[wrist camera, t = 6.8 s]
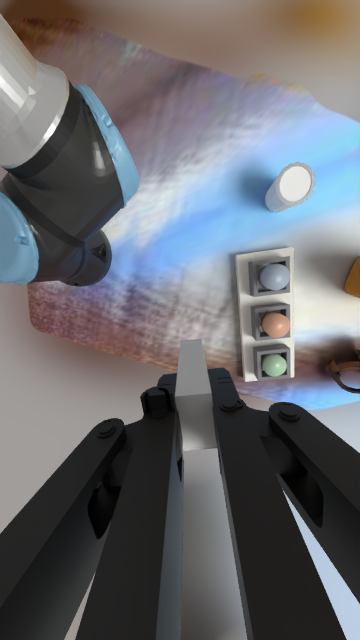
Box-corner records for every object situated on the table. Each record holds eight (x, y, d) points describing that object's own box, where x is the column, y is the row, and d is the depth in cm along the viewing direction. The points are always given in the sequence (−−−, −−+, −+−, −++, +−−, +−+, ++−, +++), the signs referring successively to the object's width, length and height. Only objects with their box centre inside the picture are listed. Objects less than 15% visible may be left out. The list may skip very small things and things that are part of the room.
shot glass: (271, 174, 41) (287, 154, 34) (301, 187, 41) (323, 170, 35) (256, 208, 43) (268, 196, 36) (284, 220, 43) (302, 211, 36)
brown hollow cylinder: (364, 381, 52) (371, 403, 45) (322, 366, 56) (323, 385, 49) (390, 343, 46) (403, 363, 40) (341, 330, 50) (346, 346, 44)
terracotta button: (259, 313, 44) (265, 316, 41) (283, 310, 43) (290, 313, 40) (260, 334, 45) (265, 339, 42) (283, 332, 44) (290, 336, 41)
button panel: (234, 255, 45) (240, 253, 40) (289, 247, 44) (301, 244, 39) (243, 377, 52) (248, 388, 47) (290, 373, 51) (300, 383, 47)
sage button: (259, 352, 48) (263, 357, 45) (280, 350, 47) (286, 355, 44) (260, 371, 49) (264, 377, 46) (280, 369, 48) (286, 375, 45)
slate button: (257, 266, 41) (263, 266, 38) (282, 263, 41) (289, 262, 38) (258, 290, 42) (264, 291, 39) (283, 287, 42) (290, 288, 39)
